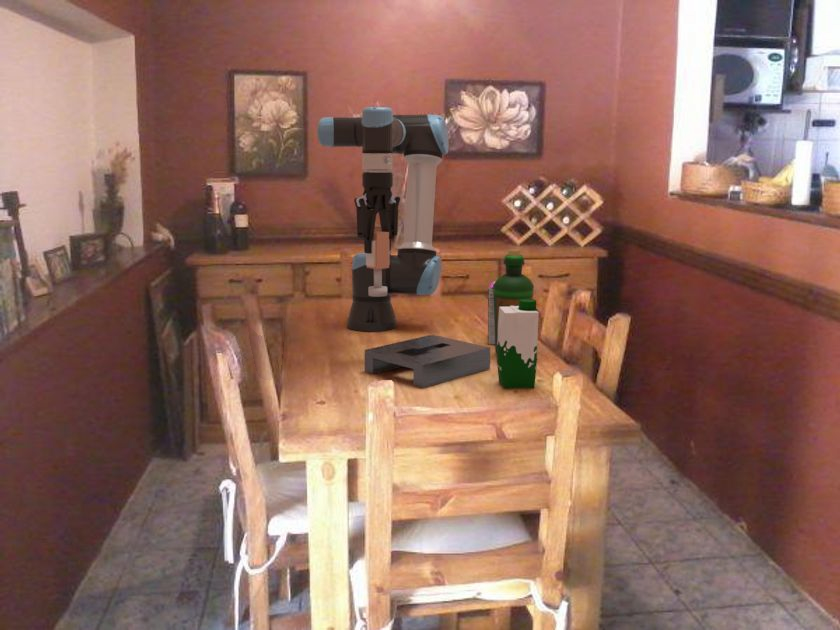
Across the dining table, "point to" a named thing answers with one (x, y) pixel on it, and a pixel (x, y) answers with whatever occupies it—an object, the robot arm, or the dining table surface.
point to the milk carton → (517, 344)
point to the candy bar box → (491, 315)
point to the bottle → (511, 286)
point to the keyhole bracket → (430, 359)
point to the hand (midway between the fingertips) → (377, 265)
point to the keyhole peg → (380, 263)
